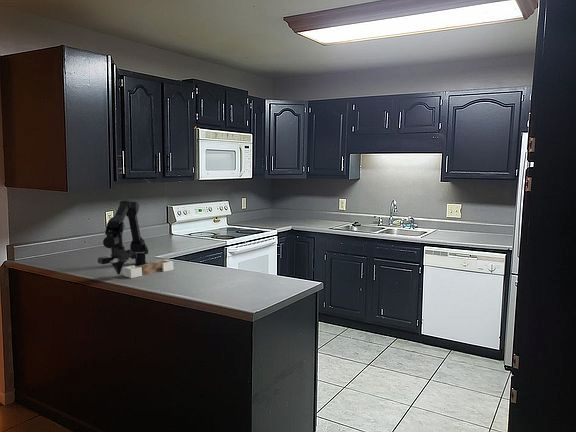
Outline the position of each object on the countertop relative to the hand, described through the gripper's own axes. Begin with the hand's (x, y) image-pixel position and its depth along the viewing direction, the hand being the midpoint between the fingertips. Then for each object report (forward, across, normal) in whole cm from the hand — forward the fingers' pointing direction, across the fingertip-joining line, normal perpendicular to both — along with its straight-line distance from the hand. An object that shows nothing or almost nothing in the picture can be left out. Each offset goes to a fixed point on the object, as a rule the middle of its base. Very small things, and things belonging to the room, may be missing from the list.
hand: (118, 274), depth 238 cm
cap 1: (+2, +8, 0) cm, 8 cm away
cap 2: (+2, +27, 0) cm, 27 cm away
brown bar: (+3, +20, 0) cm, 20 cm away
